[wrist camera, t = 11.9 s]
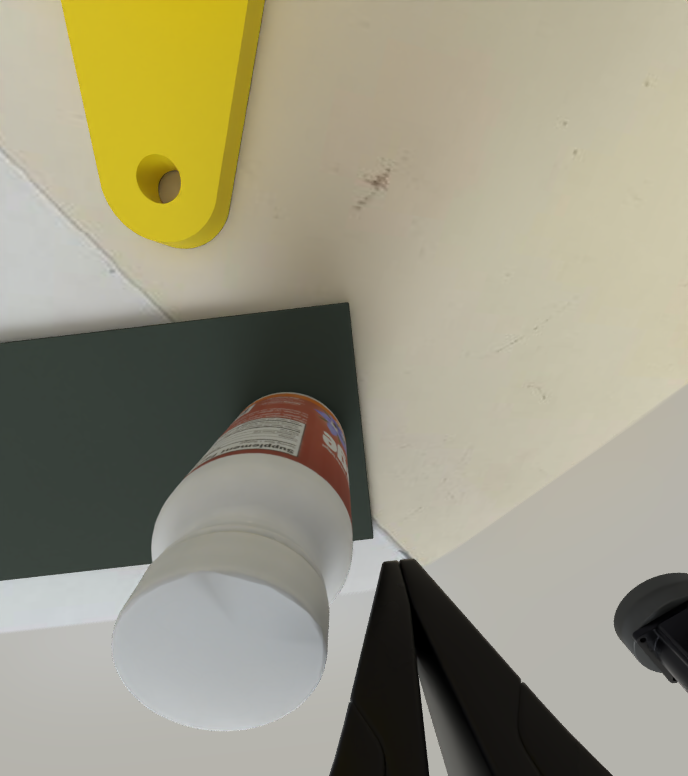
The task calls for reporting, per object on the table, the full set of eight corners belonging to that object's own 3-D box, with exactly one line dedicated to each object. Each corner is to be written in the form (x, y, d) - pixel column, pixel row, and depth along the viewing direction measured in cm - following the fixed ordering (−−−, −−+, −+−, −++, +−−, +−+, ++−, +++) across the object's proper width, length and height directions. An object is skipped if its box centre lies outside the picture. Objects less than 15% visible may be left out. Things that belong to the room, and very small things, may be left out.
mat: (348, 302, 16) (348, 302, 16) (372, 532, 20) (373, 538, 19) (-154, 361, 16) (-172, 363, 16) (-37, 578, 20) (-48, 586, 20)
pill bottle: (346, 490, 18) (361, 751, 8) (239, 493, 18) (105, 761, 8) (345, 387, 17) (363, 537, 6) (227, 389, 17) (37, 546, 6)
